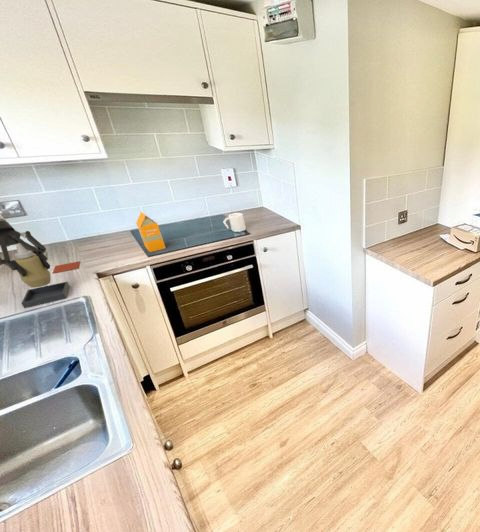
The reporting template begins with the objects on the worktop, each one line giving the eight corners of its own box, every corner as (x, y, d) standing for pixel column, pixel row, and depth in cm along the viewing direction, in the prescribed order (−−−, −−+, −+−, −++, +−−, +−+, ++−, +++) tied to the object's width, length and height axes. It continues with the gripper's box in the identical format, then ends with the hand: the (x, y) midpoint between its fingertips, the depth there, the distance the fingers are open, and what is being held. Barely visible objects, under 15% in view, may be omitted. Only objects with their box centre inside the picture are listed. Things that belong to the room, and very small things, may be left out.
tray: (24, 308, 126) (21, 303, 125) (30, 294, 135) (27, 289, 134) (66, 298, 133) (63, 293, 132) (69, 286, 142) (67, 281, 141)
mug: (244, 226, 212) (241, 212, 208) (246, 230, 206) (243, 215, 201) (224, 229, 207) (221, 214, 202) (226, 233, 200) (222, 218, 196)
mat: (52, 273, 151) (52, 273, 151) (55, 266, 157) (55, 265, 157) (78, 268, 156) (78, 268, 156) (80, 261, 162) (79, 261, 162)
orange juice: (161, 243, 184) (149, 210, 175) (166, 248, 179) (154, 213, 170) (144, 247, 179) (132, 213, 170) (149, 252, 174) (136, 217, 165)
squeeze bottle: (33, 291, 127) (9, 249, 118) (21, 287, 129) (-3, 246, 121) (58, 281, 133) (38, 242, 125) (47, 278, 136) (26, 238, 128)
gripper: (27, 223, 135) (66, 265, 137) (-44, 239, 119) (2, 286, 121) (28, 213, 131) (68, 257, 133) (-46, 227, 115) (2, 277, 117)
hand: (36, 271), depth 127 cm, fingers closed on squeeze bottle, 6 cm apart
